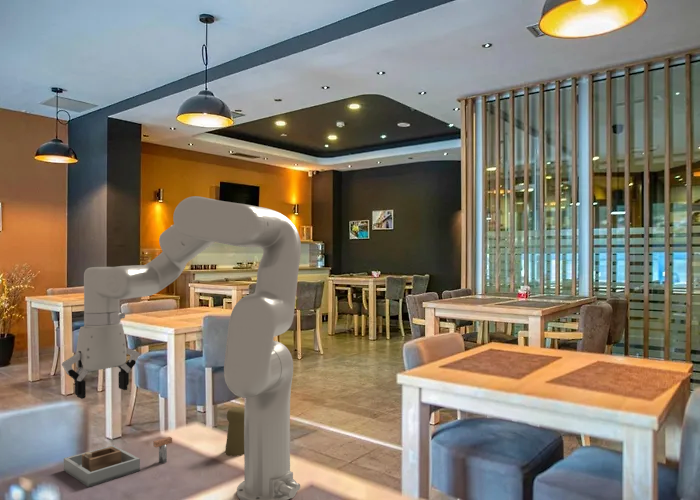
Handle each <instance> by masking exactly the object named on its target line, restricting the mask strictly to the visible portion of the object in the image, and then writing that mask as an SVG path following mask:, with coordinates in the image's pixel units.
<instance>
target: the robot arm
mask: <svg viewBox="0 0 700 500" xmlns="http://www.w3.org/2000/svg"><path fill="white" fill-rule="evenodd" d="M172 216H173V224H172V225H170V227H168V228H167V229H165V230H164V231H163V232H162V233H160V235H159V239H158V240H159V242H158V243H159V246H160V249H161V251H162V252H161V253H159V254H158V256H156V257H154V259H152V260H151V261H149V262H147V263H146V264H139V265H137V264H135V265H131V264H130V265H120V266H94V267H93V266H92V267H91V266H90V267H88V268H86V269H85V270H84V273H83V310H84V312H83V326H80V328H79V331H78V335H77V343H76V352H75V354H73V355H72V356H70V357H69V358H67V359H66V360H65V361H63V362H62V363H61V366H62V368H63V369H64V371H65V372H66V374H67V375H68V376H69V377H70V378H72V379H73V380H74V394H75V395H76V396H77V398H78V399H79V398H80V399H81V400H83V399H85V398H87V397H86V395H87V394H86V392H87V391H86V380H84V379H85V377H86V376H87V375H88V373H89V372H93V371H100V370H106V369H112V368H118V369H119V370H120V371H119V372H118V389H120V390H123V391H127V390H128V385H130V384H129V382H130V381H129V380H130V379H129V378H130V374H129V373H130V372H131V371H132V369H133V367H134V366H135V365H136V363H137V360H138V358H139V355H140V352H139V351H136V350H134V349H131V348H129V347H127V344H126V342H127V341H126V336H125V335H126V334H125V330H124V326H123V324H122V323H120V322H121V320H122V319H125V318H126V314H125V312H121V310H120V308H121V307H120V300H128V299H136V298H143V297H150V296H153V295H155V294H157V293H159V292H160V291H162V290H164V289H165V288H166V287H168V286H169V285H171V284H172V283H173V282H175V281H176V280H177V279H178V278H179V277H180V276H181V274H182V273H183V272H184V270H185V269H186V266H187V265H188V263H189V262H190V261H192V260H193V259H195V258H196V257H197V256H198V255H199V254H201V253H202V252H204V251H205V250H206V249H208V248H209V247H211V246H212V245H214V243H218V244H223V245H228V246H233V247H239V248H240V247H241V248H260V249H261V250H262V251H263V252H262V256H261V259H260V261H259V264H258V268H257V274H256V275H257V276H256V284H255V290H254V292H253V293H250V294H247V295H245V296H244V297H242V298H240V299H239V300H238V301H237V302H236V303H235V305H234V306H233V309H232V311H231V312H230V315H229V316H230V317H229V321H228V328H227V336H226V337H227V338H226V344H225V345H226V347H225V353H224V354H225V355H224V361H223V362H224V366H223V376H224V381H225V385H227V388H228V389H229V391H230V392H232V394H234V395H235V396H236V397H238V398H243V399H245V402H244V408H245V411H244V457H243V458H244V464H243V465H244V467H243V468H244V470H243V471H244V475H243V476H244V479H243V481H242V482H240V483H239V485H238V486H237V488H236V495H237V498H238V499H239V500H290V499H293V498H295V496H296V494H297V492H298V491H300V489H301V484H300V483H298V482H297V481H296V479H294V472H293V471H291V390H292V381H293V376H294V360H293V359H294V358H293V356H292V353H291V352H290V350H289V349H288V347H287V346H286V345H285V344H284V343H282V342H279V341H277V340H274V338H275V337H278V336H280V335H282V334H284V333H286V332H287V331H288V330H289V329H290V328H291V327H292V324H293V323H294V318H295V317H294V316H295V306H296V297H297V288H298V280H299V279H298V276H299V269H300V268H299V267H300V260H301V253H302V243H301V242H302V241H301V237H300V234H299V231H298V229H297V227H296V226H295V224H294V223H293V222H292V221H291V220H290V219H289V218H288V217H287V216H286V215H284V214H282V213H281V212H279V211H277V210H274V209H271V208H268V207H262V206H256V205H251V204H245V203H239V202H238V203H237V202H231V201H224V200H220V199H219V200H218V199H214V198H208V197H204V196H198V195H197V196H195V195H194V196H189V197H186V198H184V199H183V200H181V201H180V202H179V203H178V204H177V206H176V207H175V209H174V212H173V215H172ZM127 355H130V357H129V360H127ZM74 364H75V366H76V368H77V370H76V371H75V370H74V369H73V365H74Z"/></svg>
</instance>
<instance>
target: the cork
mask: <svg viewBox="0 0 700 500" xmlns="http://www.w3.org/2000/svg"><path fill="white" fill-rule="evenodd" d="M244 411H245V407H242V406H237V407H236V406H235V407H232V408H229V409H228V410H227V411H226V419H227V421H228V427H227V434H226V441H225V442H226V444H225V451H224V453H225V455H226V456H230V455H232V456H231V457H238V456H237V455H240V456H243V455H242V454H244Z"/></svg>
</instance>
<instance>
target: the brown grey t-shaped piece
mask: <svg viewBox="0 0 700 500" xmlns="http://www.w3.org/2000/svg"><path fill="white" fill-rule="evenodd" d="M172 443H173V438H172V436H167V437H164V438H161V439H156V440H154V441H153V443H152V445H153V447H154V448H158V463H159V464H165V463H167V462H168V458H167V457H168V455H167V454H168V452H167V451H168V450H167V449H168V446H167V445H169V444H172Z"/></svg>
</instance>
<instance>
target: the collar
mask: <svg viewBox="0 0 700 500" xmlns="http://www.w3.org/2000/svg"><path fill="white" fill-rule="evenodd" d="M107 447H108V446H107ZM103 448H104V447H103ZM96 450H97V449H96ZM92 451H93V450H92ZM84 453H85V454H82V453H81V454H82V467H83V468H85V469H87V470H88V471H90V472H92V471H96V470H99V469H102V468H106V467H109V466H112V465H116V464H119V463H121V451H120V450H118V449H116V448H114V447H108V448H104V449H101V450H97V451H93V452H89V451H85V452H84Z"/></svg>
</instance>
